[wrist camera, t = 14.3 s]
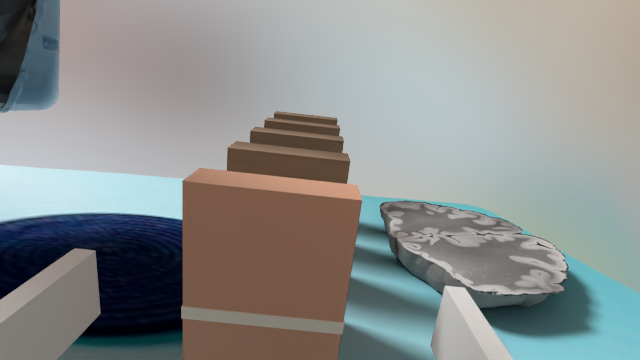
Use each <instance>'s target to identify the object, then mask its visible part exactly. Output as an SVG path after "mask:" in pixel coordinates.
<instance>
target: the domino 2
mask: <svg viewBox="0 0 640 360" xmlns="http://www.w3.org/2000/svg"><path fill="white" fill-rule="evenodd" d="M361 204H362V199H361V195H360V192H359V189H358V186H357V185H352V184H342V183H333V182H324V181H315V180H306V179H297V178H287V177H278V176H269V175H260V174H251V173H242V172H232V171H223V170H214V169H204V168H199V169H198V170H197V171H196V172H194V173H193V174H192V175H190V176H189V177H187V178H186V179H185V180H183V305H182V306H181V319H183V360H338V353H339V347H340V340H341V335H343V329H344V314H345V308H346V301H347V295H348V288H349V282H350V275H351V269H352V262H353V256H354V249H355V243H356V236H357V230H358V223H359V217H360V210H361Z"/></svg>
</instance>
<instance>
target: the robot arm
mask: <svg viewBox="0 0 640 360" xmlns="http://www.w3.org/2000/svg"><path fill="white" fill-rule="evenodd" d="M59 26H60V0H0V113H4V112H8V111H13V110H14V111H16V110H43V109H47V108H49V107H51V106H52V105H53V104H55V102H56V101H57V99H58V94H59V37H60V31H59V30H60V27H59ZM100 314H101V312H100V300H99V288H98V275H97V263H96V250H86V249H76V248H74V249H73V250H72V251H70V252H69V253H67V254H66V255H64V256H63V257H61V258H60V259H59V260H57V261H56V262H54V263H53V264H51V265H50V266H48V267H47V268H46V269H44V270H43V271H41V272H40V273H38V274H37V275H35V276H34V277H33V278H31V279H30V280H28V281H27V282H25V283H24V284H22V285H21V286H20V287H18V288H17V289H15V290H14V291H12V292H11V293H9V294H8V295H7V296H5V297H4V298H2V299H1V300H0V360H57V359H58V358H59V357H60V356H61V355H62V354H63V353H64V352H65V351H66V350H67V349H68V348H69V347H70V346H71V345H72V343H73V342H74V341H75V340H76V339H77V338H78V337H79V336H80V335H81V334H82V333H83V332H84V331H85V330H86V328H87V327H88V326H89V325H90V324H91V323H92V322H93V321H94V320H95V319H96V318H97V317H98V316H99V315H100ZM431 348H432V350H433V353H434V355H435V358H436V360H513V358H512V357H511V355H510V354H509V352H508V351H507V349H506V348H505V346H504V345H503V344H502V342H501V341H500V339H499V338H498V336H497V335H496V333H495V332H494V330H493V329H492V327H491V326H490V324H489V323H488V321H487V320H486V318H485V317H484V315H483V314H482V312H481V311H480V309H479V308H478V307H477V305H476V304H475V302H474V301H473V299H472V298H471V296H470V295H469V293H468V292H467V290H466V289H465V288H463V287H453V286H445V287H444V291H443V296H442V300H441V304H440V308H439V312H438V316H437V320H436V324H435V329H434V333H433V337H432V341H431Z"/></svg>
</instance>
